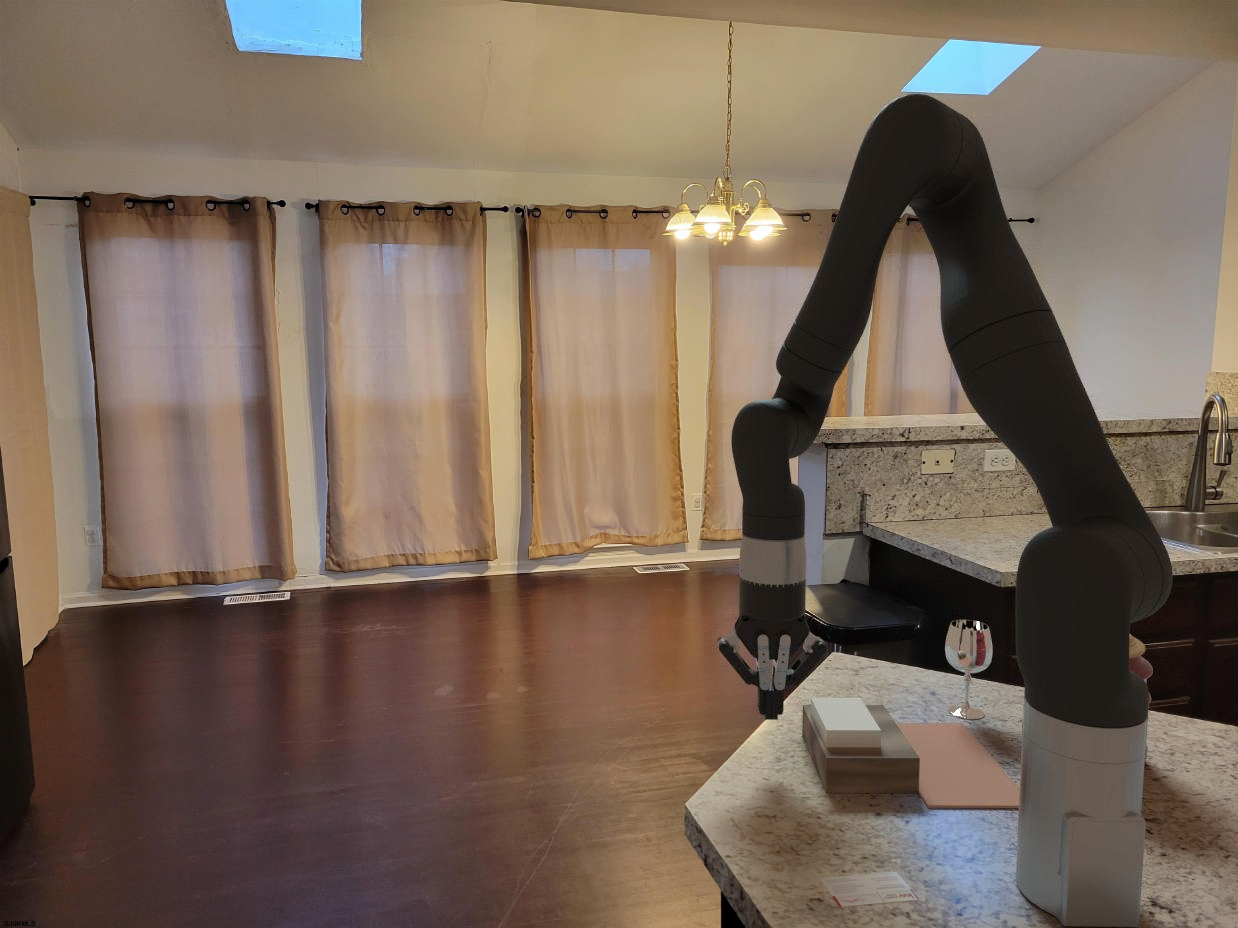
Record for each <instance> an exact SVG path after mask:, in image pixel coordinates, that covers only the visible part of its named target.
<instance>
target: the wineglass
mask: <svg viewBox="0 0 1238 928" xmlns="http://www.w3.org/2000/svg"><path fill="white" fill-rule="evenodd" d="M991 635H992V634H991V630H990V627H989V626H988V624H986V623H984V622H981V621H979V620H978V621H977V620H971V619H956V620H952V621H951V622H950V624H949V627H948V631H947V633H946V637H945V638H946V639H945V642H944V643H945V644H944V645H945V646H944V651H945V657H946V660H947V662H948V663H949V665H950V666H952V667H953V668H954V669H955V670H957V671H959V672H962V673H964V675H963V679H962V680H963V685H964V701H963V704H954V705H951V706H949V707H948V709H947V711H948V712H949V714H950V715H952V716H955V717H957V718H959V719H960V718H961V719H965V720H980V719H983V718H984V717H985V712H984V711H983V710H982V709H980V708H978V707H975V706H971V705H970V701H969V695H970V694H969V693H970V687H971V684H972V675H971V674H977V673H981V672H982V671H984V670H986V669H987V668H988V667H989V666H990V664H991V663H992V658H993V643H992V636H991Z"/></svg>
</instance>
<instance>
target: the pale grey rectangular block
mask: <svg viewBox="0 0 1238 928" xmlns="http://www.w3.org/2000/svg"><path fill="white" fill-rule="evenodd" d="M810 705H811V715H812V717H813V720H814V722H815V724H816V726H817V728H818V730H819V733H820V735H821V737H822V739H823V741H824V743H825V745H826V747H881V729H880V728H879V726H878V725H877V723H876V721H875V720H874V718H873V717H872V715H871V714H870V712H869V710H868V709H867V707H866V706H865V705H866V704H865V702H864V701H863V699H862V698H861V697H810Z"/></svg>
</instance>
